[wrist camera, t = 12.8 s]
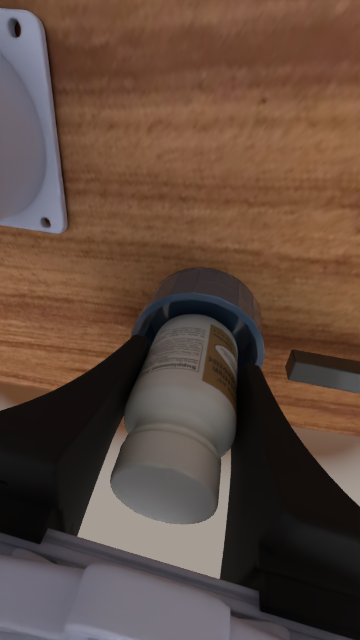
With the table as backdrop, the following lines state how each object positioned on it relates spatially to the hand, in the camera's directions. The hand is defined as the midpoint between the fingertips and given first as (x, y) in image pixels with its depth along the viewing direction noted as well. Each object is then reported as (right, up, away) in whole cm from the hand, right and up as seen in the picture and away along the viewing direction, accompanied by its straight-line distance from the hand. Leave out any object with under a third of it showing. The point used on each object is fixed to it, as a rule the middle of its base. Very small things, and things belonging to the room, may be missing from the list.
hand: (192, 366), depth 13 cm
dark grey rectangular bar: (+7, 0, +1) cm, 7 cm away
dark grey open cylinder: (+1, +2, +3) cm, 4 cm away
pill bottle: (0, +1, +2) cm, 2 cm away
